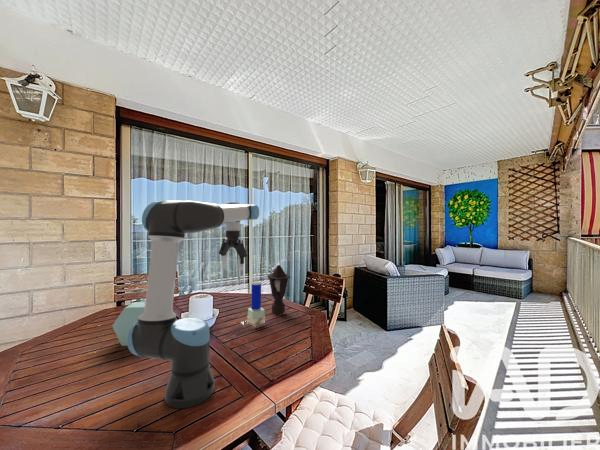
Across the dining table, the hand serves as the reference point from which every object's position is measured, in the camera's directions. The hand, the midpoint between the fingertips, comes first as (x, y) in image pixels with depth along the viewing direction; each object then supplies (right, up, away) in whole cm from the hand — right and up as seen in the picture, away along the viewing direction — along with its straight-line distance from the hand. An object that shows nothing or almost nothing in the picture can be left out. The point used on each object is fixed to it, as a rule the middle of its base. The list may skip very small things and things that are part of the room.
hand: (232, 268), depth 141 cm
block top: (+13, -27, +1) cm, 30 cm away
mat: (+13, -31, +1) cm, 34 cm away
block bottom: (+13, -31, +1) cm, 33 cm away
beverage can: (+13, -23, +1) cm, 26 cm away
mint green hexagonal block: (-38, -31, -21) cm, 53 cm away
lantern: (+24, -31, +18) cm, 43 cm away
